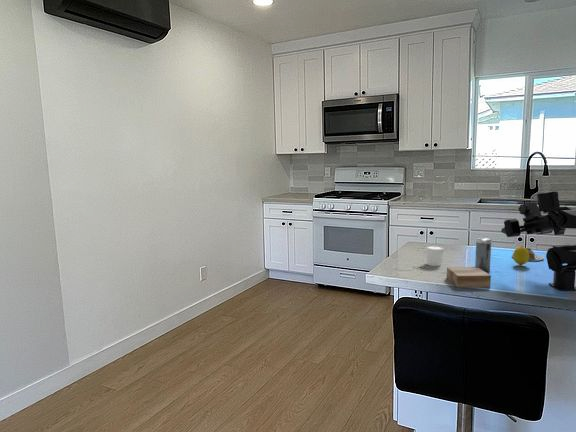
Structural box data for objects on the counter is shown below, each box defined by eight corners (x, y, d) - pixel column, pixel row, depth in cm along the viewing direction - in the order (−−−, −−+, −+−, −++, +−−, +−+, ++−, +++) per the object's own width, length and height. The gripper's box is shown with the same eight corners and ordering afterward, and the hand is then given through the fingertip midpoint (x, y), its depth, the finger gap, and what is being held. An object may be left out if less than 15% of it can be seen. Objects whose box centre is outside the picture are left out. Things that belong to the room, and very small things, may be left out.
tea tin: (492, 272, 159) (494, 240, 158) (478, 273, 160) (479, 240, 158) (486, 269, 165) (487, 237, 163) (472, 269, 165) (474, 238, 163)
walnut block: (490, 286, 143) (490, 275, 142) (457, 287, 143) (458, 276, 143) (477, 277, 154) (477, 266, 153) (446, 277, 154) (447, 267, 154)
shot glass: (424, 265, 172) (424, 248, 171) (427, 261, 178) (427, 245, 177) (441, 267, 169) (442, 250, 168) (444, 263, 175) (444, 246, 174)
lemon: (530, 267, 165) (531, 247, 164) (515, 267, 166) (516, 247, 165) (525, 264, 171) (526, 244, 169) (510, 263, 172) (511, 244, 171)
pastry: (517, 254, 188) (518, 244, 188) (547, 259, 179) (548, 248, 179) (507, 259, 181) (507, 248, 180) (537, 264, 172) (538, 253, 171)
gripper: (561, 199, 150) (527, 208, 165) (518, 202, 146) (487, 210, 161) (568, 230, 148) (533, 236, 163) (524, 234, 144) (492, 239, 159)
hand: (511, 230), depth 162 cm, fingers open, 9 cm apart
